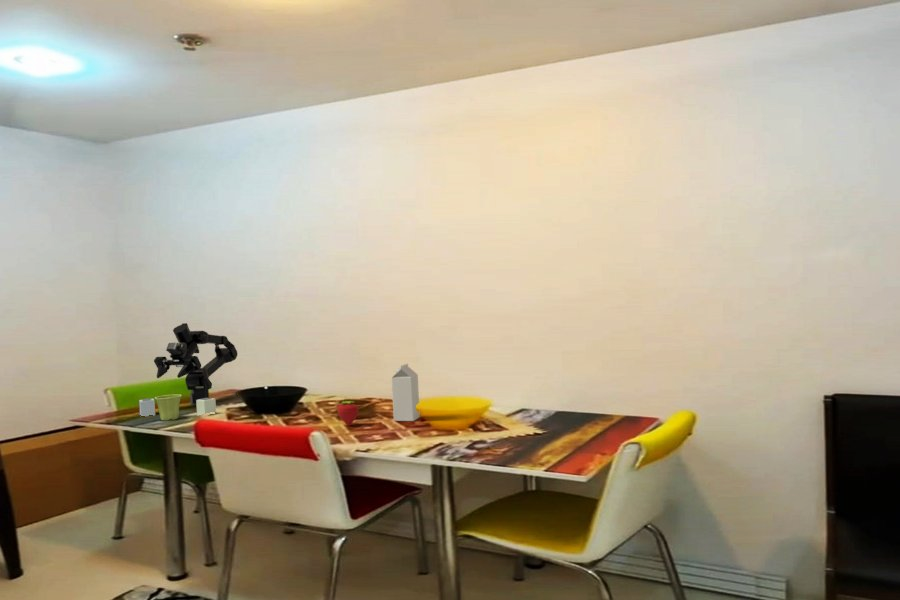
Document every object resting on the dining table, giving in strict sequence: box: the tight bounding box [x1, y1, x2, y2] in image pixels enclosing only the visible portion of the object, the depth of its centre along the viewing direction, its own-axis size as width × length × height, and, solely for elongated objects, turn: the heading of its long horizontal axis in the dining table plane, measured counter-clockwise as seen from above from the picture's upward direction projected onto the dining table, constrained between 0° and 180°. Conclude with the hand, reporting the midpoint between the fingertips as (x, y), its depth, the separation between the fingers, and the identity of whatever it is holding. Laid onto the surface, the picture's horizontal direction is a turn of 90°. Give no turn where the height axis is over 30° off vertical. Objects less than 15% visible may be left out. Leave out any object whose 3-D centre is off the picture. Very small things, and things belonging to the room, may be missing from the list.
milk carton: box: [391, 363, 421, 422], centre depth 234 cm, size 7×7×19 cm
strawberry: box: [337, 396, 359, 427], centre depth 228 cm, size 6×8×10 cm
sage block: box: [195, 397, 217, 417], centre depth 262 cm, size 5×5×6 cm
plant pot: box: [154, 393, 182, 421], centre depth 256 cm, size 9×9×9 cm
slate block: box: [138, 398, 156, 417], centre depth 267 cm, size 5×5×6 cm
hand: (167, 377), depth 269 cm, fingers open, 9 cm apart
